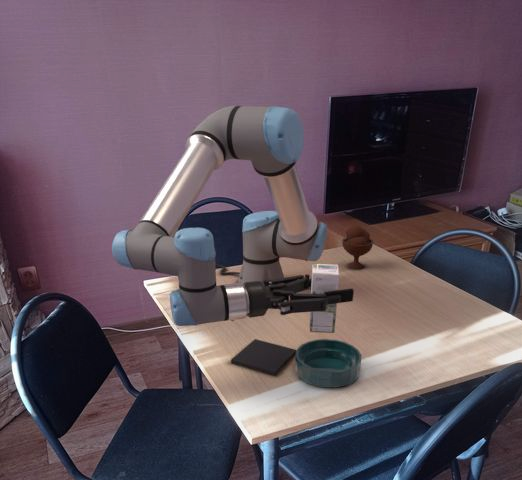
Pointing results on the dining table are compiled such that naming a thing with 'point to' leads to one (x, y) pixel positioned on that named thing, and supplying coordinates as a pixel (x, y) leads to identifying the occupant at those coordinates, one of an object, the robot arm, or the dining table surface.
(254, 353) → the mat
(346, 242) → the ice cream bowl
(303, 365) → the bowl
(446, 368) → the dining table surface
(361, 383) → the dining table surface
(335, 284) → the syrup box
